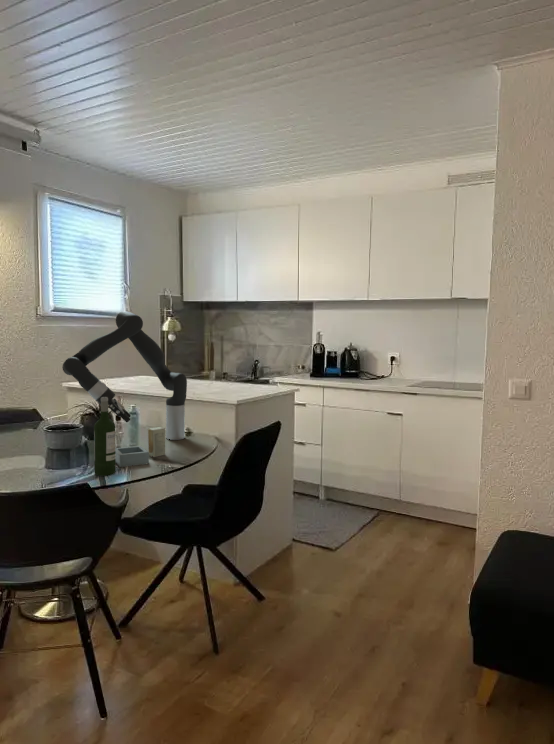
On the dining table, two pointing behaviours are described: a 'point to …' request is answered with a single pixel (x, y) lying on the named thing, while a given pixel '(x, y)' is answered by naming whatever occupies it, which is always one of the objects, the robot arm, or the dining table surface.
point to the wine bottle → (104, 442)
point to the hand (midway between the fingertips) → (129, 419)
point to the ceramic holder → (131, 456)
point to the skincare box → (156, 441)
